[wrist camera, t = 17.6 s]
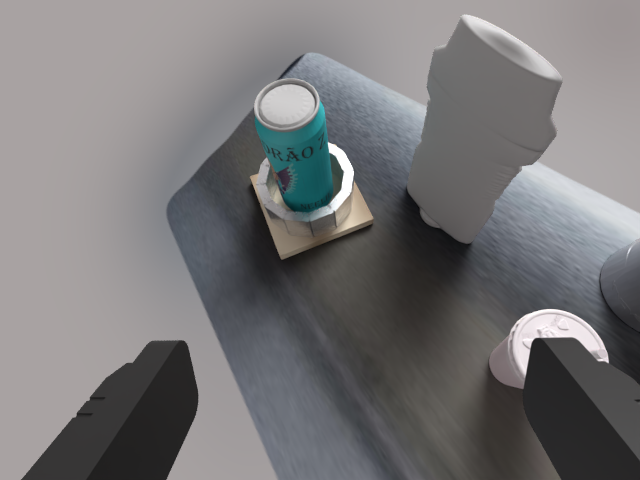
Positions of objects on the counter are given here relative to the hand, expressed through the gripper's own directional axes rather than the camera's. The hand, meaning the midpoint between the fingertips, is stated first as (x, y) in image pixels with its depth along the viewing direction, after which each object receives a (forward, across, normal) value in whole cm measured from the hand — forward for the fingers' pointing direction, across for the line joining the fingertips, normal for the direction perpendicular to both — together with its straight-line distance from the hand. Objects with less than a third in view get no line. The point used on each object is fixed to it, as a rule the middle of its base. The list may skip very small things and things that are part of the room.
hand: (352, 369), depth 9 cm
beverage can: (+34, +4, +5) cm, 35 cm away
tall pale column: (+34, -10, +7) cm, 36 cm away
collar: (+34, +4, +5) cm, 35 cm away
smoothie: (+22, -15, +19) cm, 33 cm away
